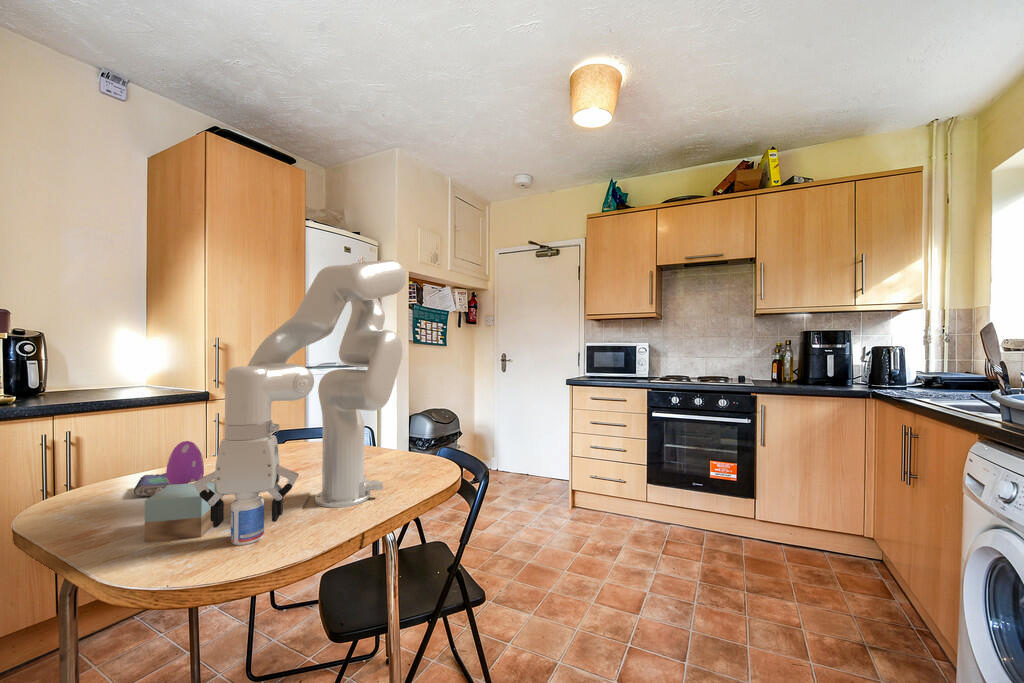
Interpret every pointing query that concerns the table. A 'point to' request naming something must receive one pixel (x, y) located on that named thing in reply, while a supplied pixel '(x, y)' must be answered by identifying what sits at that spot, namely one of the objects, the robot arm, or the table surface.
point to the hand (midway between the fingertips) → (247, 521)
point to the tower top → (177, 503)
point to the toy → (185, 464)
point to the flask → (151, 485)
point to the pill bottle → (247, 518)
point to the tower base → (178, 528)
